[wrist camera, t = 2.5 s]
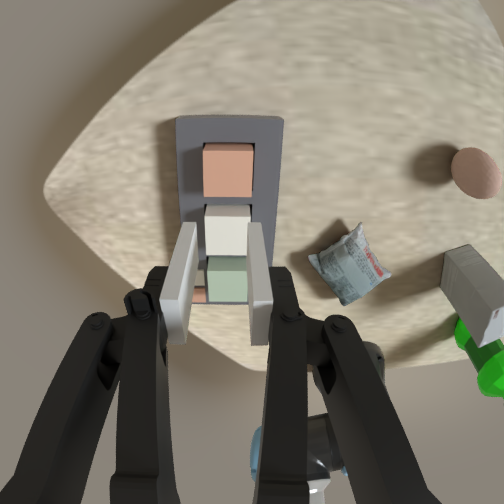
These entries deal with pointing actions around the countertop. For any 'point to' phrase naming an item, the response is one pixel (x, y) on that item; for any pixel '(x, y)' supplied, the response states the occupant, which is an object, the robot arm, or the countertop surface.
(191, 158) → the keypad board
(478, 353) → the plastic bottle
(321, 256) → the packaged food
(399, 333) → the countertop surface
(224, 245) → the cream key
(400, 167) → the countertop surface
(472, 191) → the egg
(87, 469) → the robot arm
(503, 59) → the countertop surface
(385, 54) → the countertop surface
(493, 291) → the skincare box
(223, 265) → the sage key
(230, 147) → the terracotta key
